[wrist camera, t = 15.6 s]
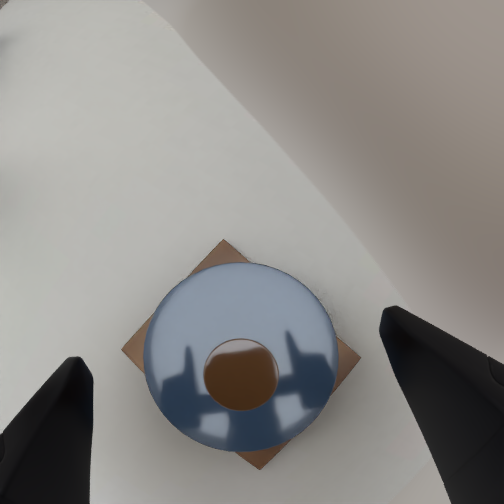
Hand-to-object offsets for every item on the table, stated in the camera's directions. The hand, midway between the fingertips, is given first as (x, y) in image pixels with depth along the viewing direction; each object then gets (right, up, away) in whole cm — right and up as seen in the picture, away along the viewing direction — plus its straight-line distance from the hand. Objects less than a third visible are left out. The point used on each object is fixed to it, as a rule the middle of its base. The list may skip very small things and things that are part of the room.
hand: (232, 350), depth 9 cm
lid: (0, -4, +10) cm, 11 cm away
